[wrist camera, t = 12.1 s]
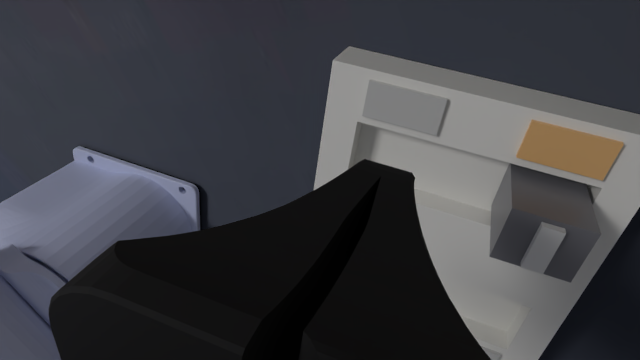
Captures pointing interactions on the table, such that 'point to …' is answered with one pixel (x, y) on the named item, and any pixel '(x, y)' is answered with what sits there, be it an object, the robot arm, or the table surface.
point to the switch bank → (482, 178)
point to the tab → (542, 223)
